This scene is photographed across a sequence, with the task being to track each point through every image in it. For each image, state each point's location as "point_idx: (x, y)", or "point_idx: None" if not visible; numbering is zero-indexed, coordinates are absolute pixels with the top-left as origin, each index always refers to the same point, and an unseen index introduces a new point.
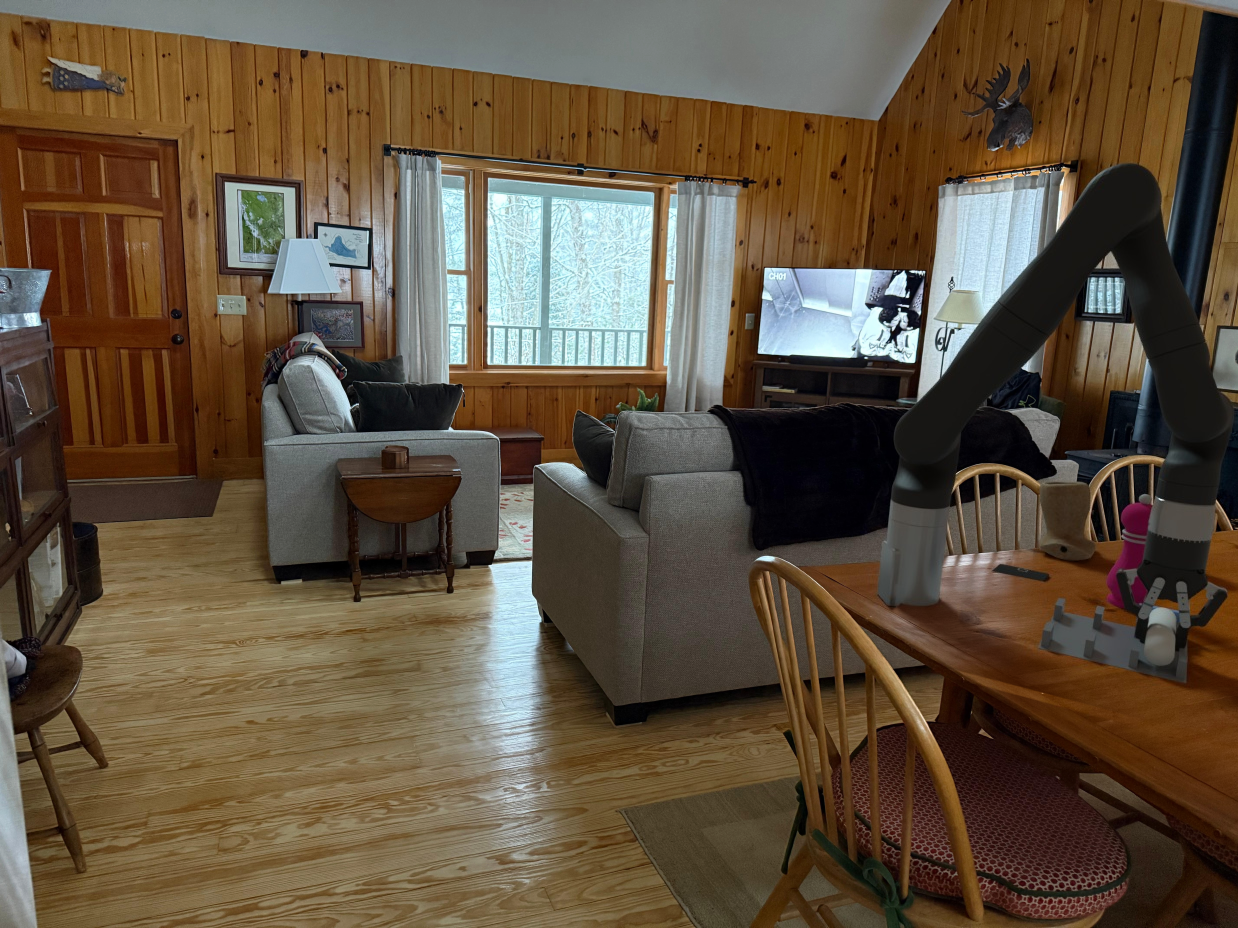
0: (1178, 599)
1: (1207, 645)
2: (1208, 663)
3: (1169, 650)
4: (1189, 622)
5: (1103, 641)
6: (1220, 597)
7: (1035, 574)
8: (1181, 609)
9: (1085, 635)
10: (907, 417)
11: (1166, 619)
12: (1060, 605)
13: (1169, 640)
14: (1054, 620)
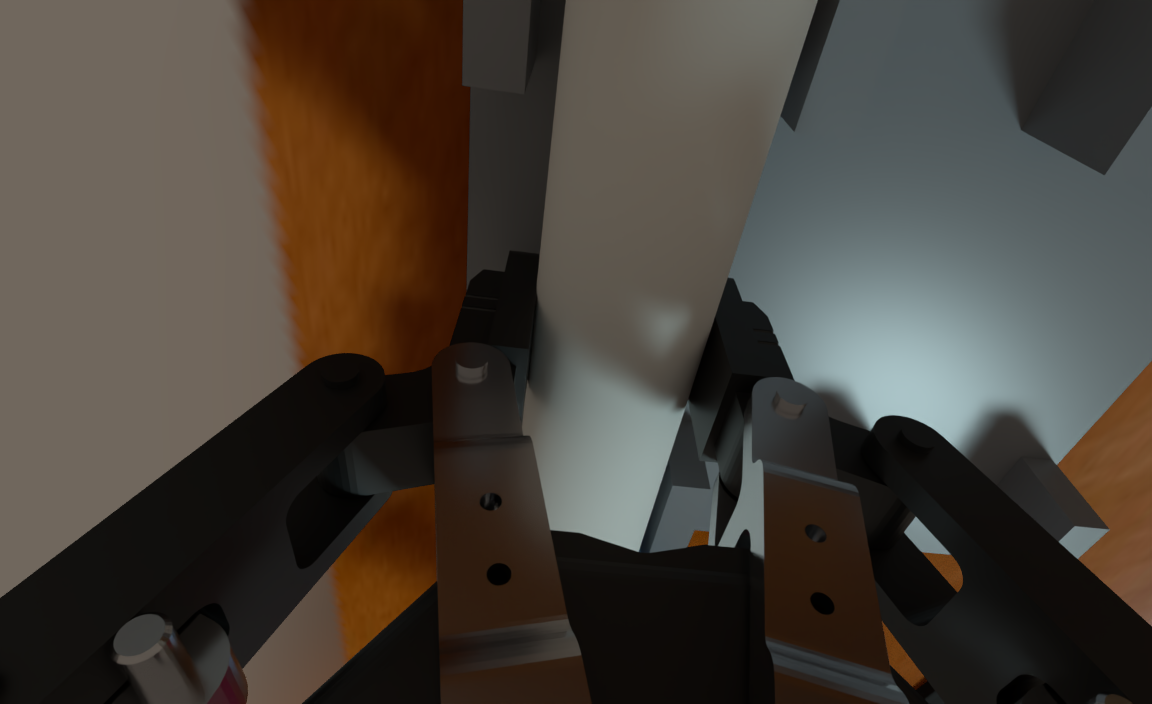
0: (544, 548)
1: (392, 508)
2: (374, 328)
3: None
4: (439, 373)
5: (890, 293)
6: (9, 656)
7: None
8: (507, 446)
9: (965, 334)
10: None
11: (580, 483)
12: (1079, 531)
13: (624, 21)
14: (1049, 453)
